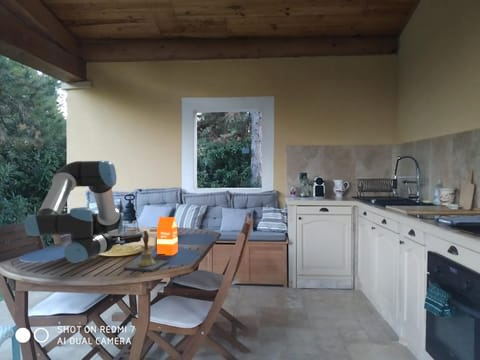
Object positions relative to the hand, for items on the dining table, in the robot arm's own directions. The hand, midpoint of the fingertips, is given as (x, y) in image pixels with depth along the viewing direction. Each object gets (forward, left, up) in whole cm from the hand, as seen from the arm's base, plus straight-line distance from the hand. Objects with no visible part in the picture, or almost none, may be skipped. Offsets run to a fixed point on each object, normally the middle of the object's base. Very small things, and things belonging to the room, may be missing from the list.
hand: (130, 233), depth 163 cm
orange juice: (0, +35, -18) cm, 40 cm away
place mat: (+2, +10, -18) cm, 21 cm away
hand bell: (+2, +10, -17) cm, 20 cm away
